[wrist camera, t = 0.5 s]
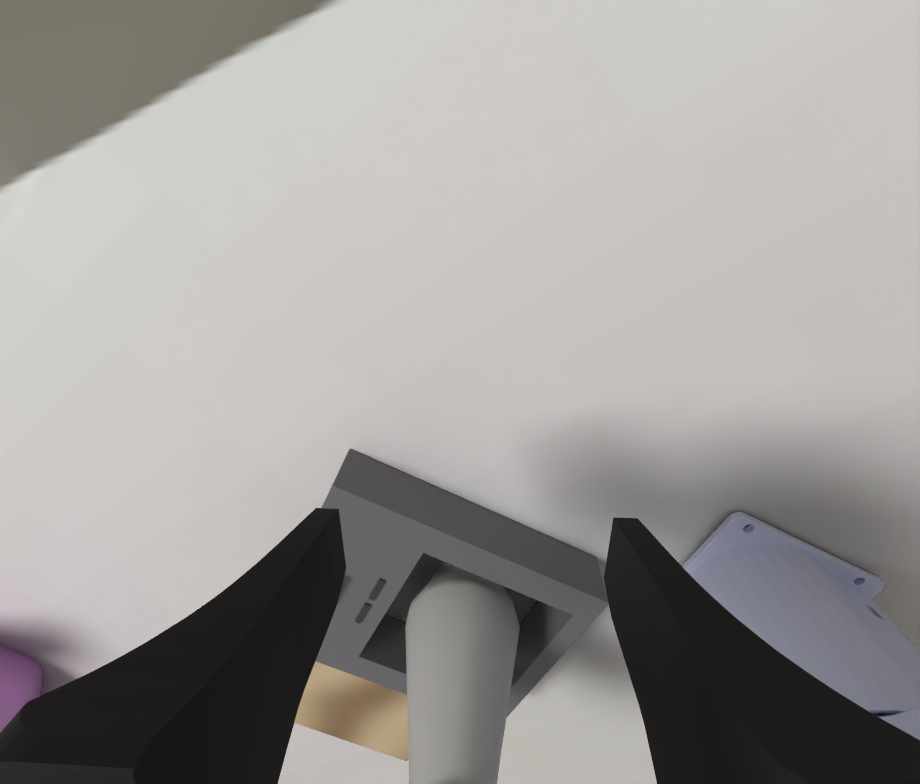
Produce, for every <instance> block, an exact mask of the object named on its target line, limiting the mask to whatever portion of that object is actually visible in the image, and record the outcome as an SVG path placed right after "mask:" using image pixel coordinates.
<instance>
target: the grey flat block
mask: <svg viewBox="0 0 920 784" xmlns="http://www.w3.org/2000/svg"><path fill="white" fill-rule="evenodd" d="M322 508H327V509H339V515H340V523H341V530H342V538H343V546H344V554H345V562H346V571H345V575H344V580H343V584H342V588H341V592H340V596H339V599H338V603H337V606H336V609H335V612H334V614H333V617H332V620H331V622H330V625H329V627H328V630H327V633H326V635H325V638H324V640H323V643H322V646H321V648H320V651H319V653H318V656H317V658H316V662H319V663H321V664H324V665H327V666H330V667H332V668H335V669H338V670H341V671H343V672H346V673H349V674H352V675H354V676H357V677H360V678H363V679H365V680H368V681H371V682H373V683H376V684H379V685H382V686H384V687H387V688H390V689H393V690H395V691H398V692H401V693H404V694H406V695H407V670H406V629H405V626H406V623H404V622H402V621H399V620H397V619H394V618H392V617H389V616H386V615H385V613H386V612H387V610H388V609H389V607H390V605H391V604H392V602H393V601H394V599H395V597H396V596H397V594H398V593H399V591H400V589H401V588H402V586H403V585H404V583H405V581H406V580H407V578H408V577H409V575H410V573H411V572H412V570H413V568H414V567H415V565H416V564H417V562H418V560H419V559H420V557H421V556H422V554H423V553H425V554H427V555H430V556H432V557H434V558H437V559H439V560H442V561H444V562H446V563H449V564H451V565H454V566H456V567H458V568H461V569H463V570H466V571H468V572H470V573H473V574H475V575H478V576H480V577H483V578H485V579H487V580H490V581H492V582H495V583H497V584H499V585H502V586H504V587H507V588H509V589H511V590H514V591H516V592H519V593H521V594H523V595H526V596H528V597H531V598H533V599H535V600H538V603H537V604H536V605H535V606H534V608H533V609H532V610H531V611H530V612H529V614H528V615H527V616H526V617H525V619H524V620H523V621H522V622H521V624H520V625H519V626H520V631H519V638H518V644H517V651H516V657H515V664H514V670H513V677H512V683H511V690H510V696H509V703H508V709H507V716H508V715H509V714H510V713H511V712H512V711H513V710H514V709H515V708H516V706H517V705H518V704H519V703H520V702H521V701H522V700H523V699H524V697H525V696H526V695H527V694H528V693H529V692H530V691H531V690H532V689H533V687H534V686H535V685H536V684H537V683H538V682H539V681H540V680H541V678H542V677H543V676H544V675H545V674H546V673H547V672H548V671H549V670H550V668H551V667H552V666H553V665H554V664H555V663H556V662H557V661H558V659H559V658H560V657H561V656H562V655H563V654H564V653H565V652H566V651H567V649H568V648H569V647H570V646H571V645H572V644H573V643H574V642H575V641H576V639H577V638H578V637H579V636H580V635H581V634H582V633H583V632H584V630H585V629H586V628H587V627H588V626H589V625H590V624H591V623H592V622H593V620H594V619H595V618H596V617H597V616H598V615H599V614H600V613H601V611H602V610H603V609H604V608H605V607H606V606H607V605H608V604H609V602H608V598H607V594H606V591H605V587H604V584H603V580H602V576H601V573H600V569H599V566H598V562H597V559H596V557H595V556H592V555H590V554H588V553H586V552H583V551H581V550H579V549H576V548H574V547H572V546H570V545H567V544H565V543H563V542H561V541H558V540H556V539H554V538H551V537H549V536H547V535H545V534H542V533H540V532H538V531H536V530H533V529H531V528H529V527H526V526H524V525H522V524H520V523H517V522H515V521H513V520H511V519H508V518H506V517H504V516H501V515H499V514H497V513H495V512H492V511H490V510H488V509H485V508H483V507H481V506H479V505H476V504H474V503H472V502H470V501H467V500H465V499H463V498H460V497H458V496H456V495H454V494H451V493H449V492H447V491H445V490H442V489H440V488H438V487H435V486H433V485H431V484H429V483H426V482H424V481H422V480H420V479H417V478H415V477H413V476H410V475H408V474H406V473H404V472H401V471H399V470H397V469H395V468H392V467H390V466H388V465H385V464H383V463H381V462H379V461H376V460H374V459H372V458H370V457H367V456H365V455H363V454H360V453H358V452H356V451H354V450H351V449H349V452H348V454H347V456H346V458H345V460H344V462H343V464H342V466H341V468H340V470H339V473H338V475H337V477H336V479H335V481H334V483H333V485H332V487H331V489H330V491H329V493H328V496H327V498H326V500H325V502H324V504H323V506H322ZM507 716H506V718H507Z"/></svg>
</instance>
